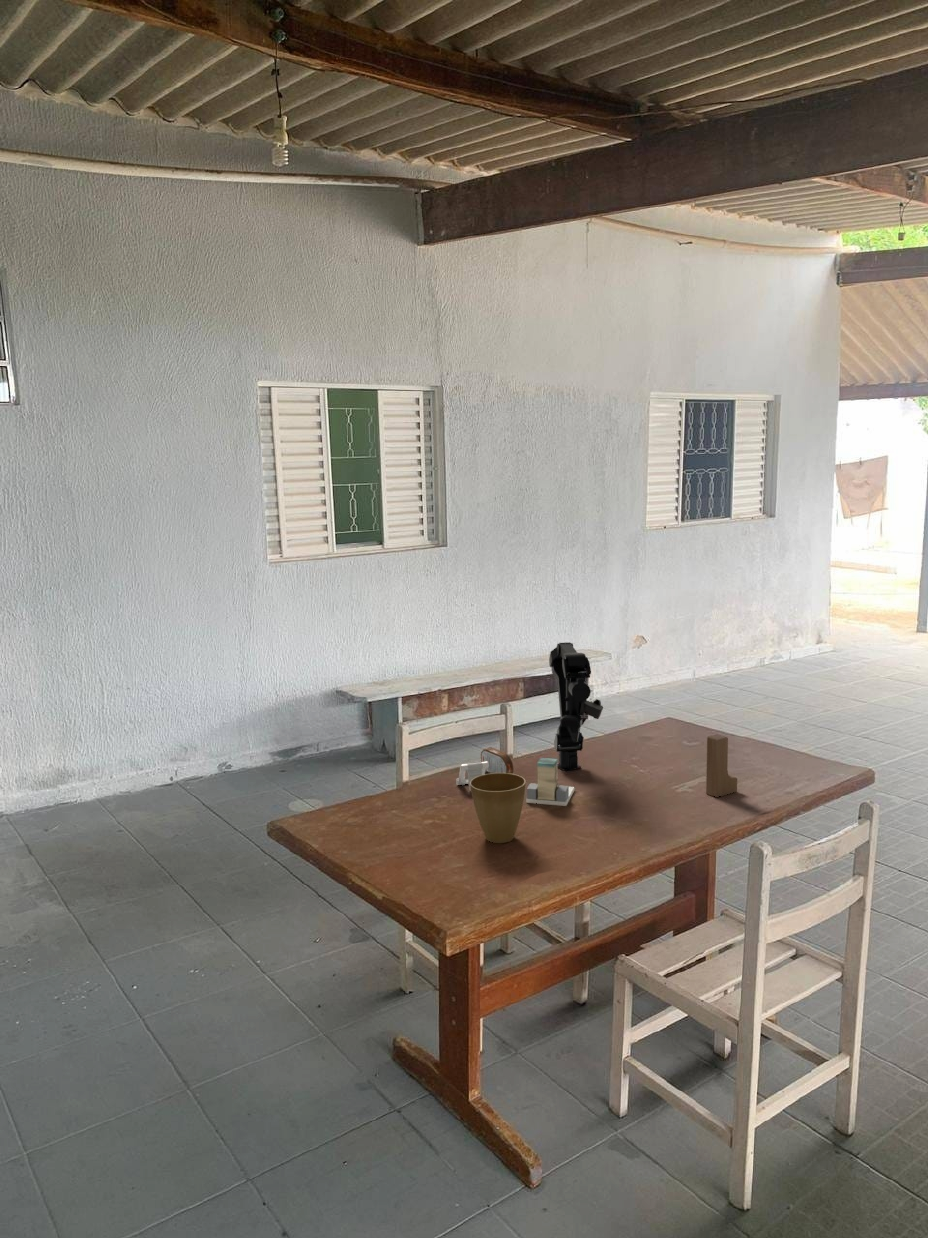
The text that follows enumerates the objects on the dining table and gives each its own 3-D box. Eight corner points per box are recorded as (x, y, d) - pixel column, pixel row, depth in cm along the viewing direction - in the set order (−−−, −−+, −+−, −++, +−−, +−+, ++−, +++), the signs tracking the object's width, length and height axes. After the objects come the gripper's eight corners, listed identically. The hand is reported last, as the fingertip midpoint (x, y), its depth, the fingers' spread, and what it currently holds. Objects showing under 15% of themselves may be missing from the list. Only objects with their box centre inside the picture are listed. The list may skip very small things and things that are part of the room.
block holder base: (536, 787, 288) (535, 774, 287) (574, 790, 284) (574, 777, 283) (526, 802, 275) (526, 788, 274) (566, 806, 271) (566, 791, 271)
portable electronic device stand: (481, 781, 295) (481, 756, 294) (490, 789, 288) (489, 763, 286) (456, 785, 292) (455, 759, 291) (464, 793, 285) (463, 766, 284)
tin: (514, 780, 295) (514, 754, 294) (506, 782, 294) (506, 756, 292) (487, 768, 308) (486, 744, 306) (479, 770, 306) (478, 746, 305)
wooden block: (726, 788, 283) (727, 731, 280) (737, 792, 279) (738, 734, 277) (705, 794, 278) (706, 736, 276) (717, 798, 275) (718, 739, 272)
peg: (541, 793, 278) (540, 758, 277) (557, 794, 277) (557, 759, 275) (537, 798, 273) (537, 763, 272) (554, 800, 272) (554, 764, 270)
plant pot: (497, 823, 259) (496, 768, 256) (538, 837, 248) (537, 780, 246) (459, 839, 249) (458, 782, 246) (500, 854, 238) (498, 794, 236)
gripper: (596, 702, 277) (596, 752, 279) (605, 688, 294) (605, 735, 297) (559, 700, 280) (560, 749, 282) (570, 686, 298) (571, 733, 300)
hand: (575, 741), depth 290 cm, fingers closed
